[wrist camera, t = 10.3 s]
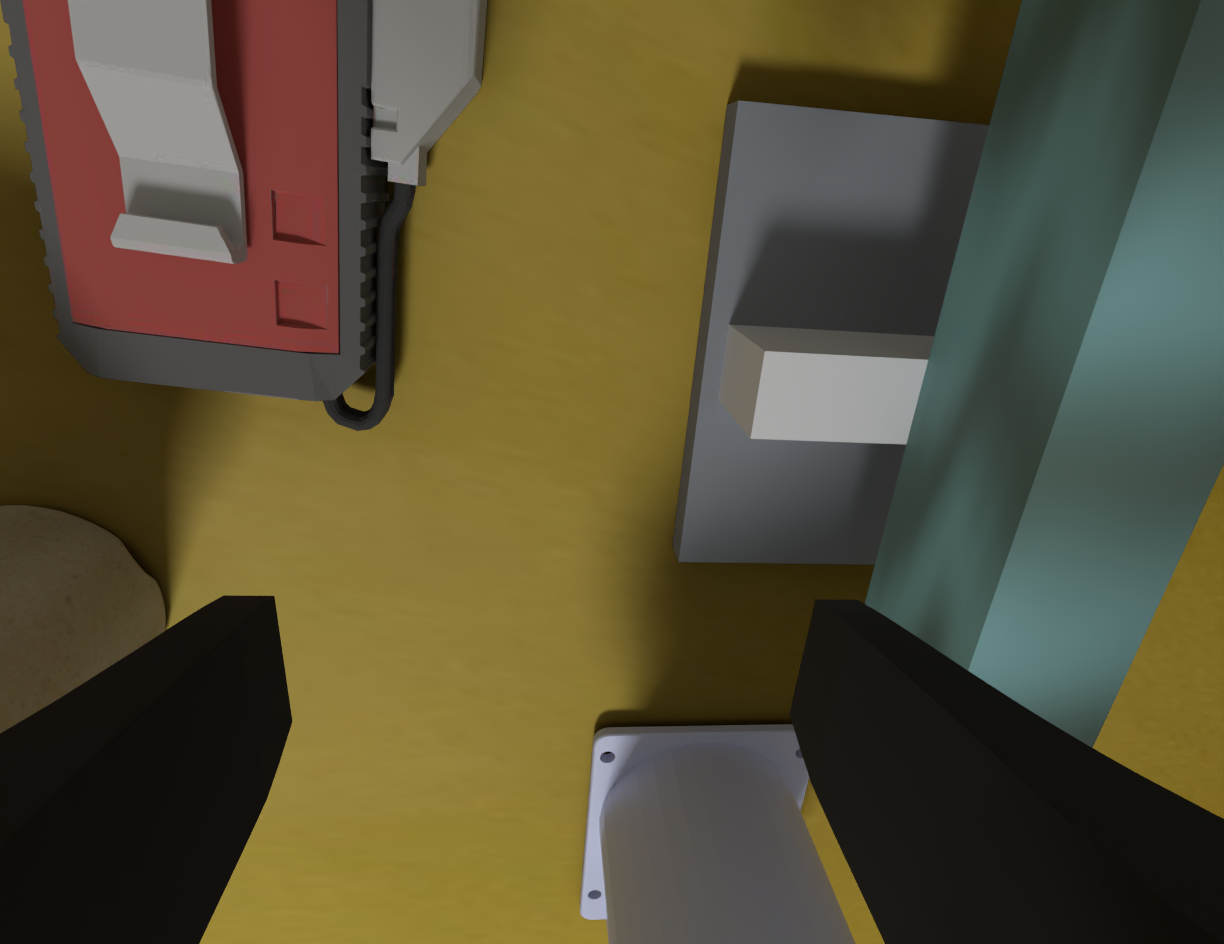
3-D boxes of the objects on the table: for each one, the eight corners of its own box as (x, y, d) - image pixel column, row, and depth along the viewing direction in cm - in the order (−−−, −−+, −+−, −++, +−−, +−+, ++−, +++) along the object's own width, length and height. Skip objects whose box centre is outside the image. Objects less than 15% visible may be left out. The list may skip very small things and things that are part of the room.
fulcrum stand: (1029, 551, 22) (1126, 623, 18) (672, 545, 21) (701, 622, 17) (1174, 148, 17) (1343, 139, 14) (726, 105, 16) (782, 81, 12)
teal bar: (962, 683, 19) (1066, 805, 15) (843, 684, 18) (919, 809, 15) (1199, 0, 12) (1472, -76, 9) (1027, -21, 12) (1240, -111, 8)
